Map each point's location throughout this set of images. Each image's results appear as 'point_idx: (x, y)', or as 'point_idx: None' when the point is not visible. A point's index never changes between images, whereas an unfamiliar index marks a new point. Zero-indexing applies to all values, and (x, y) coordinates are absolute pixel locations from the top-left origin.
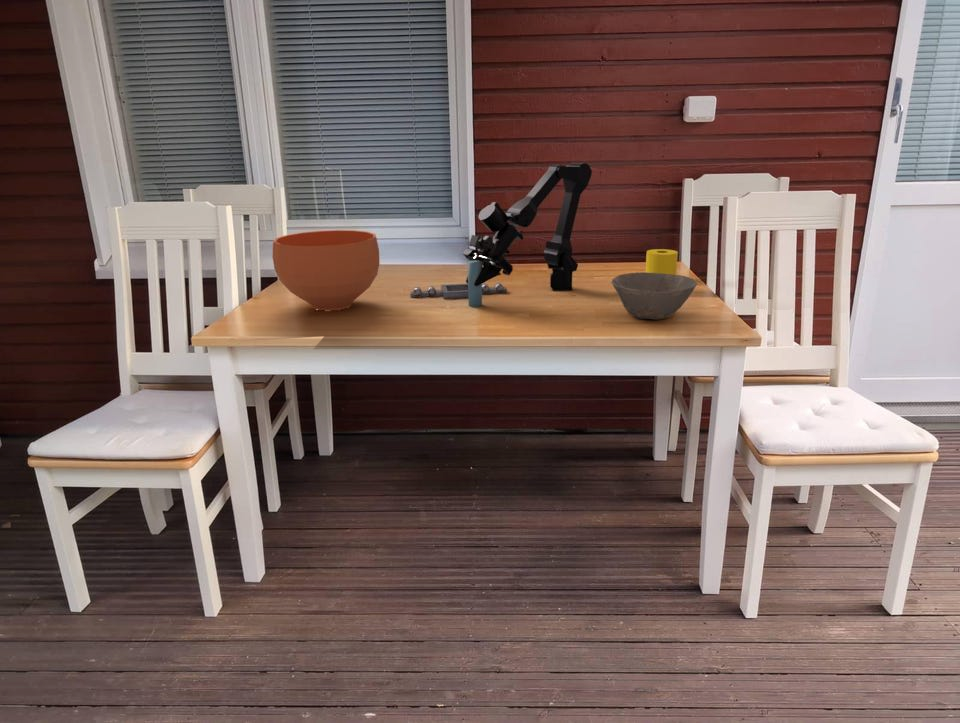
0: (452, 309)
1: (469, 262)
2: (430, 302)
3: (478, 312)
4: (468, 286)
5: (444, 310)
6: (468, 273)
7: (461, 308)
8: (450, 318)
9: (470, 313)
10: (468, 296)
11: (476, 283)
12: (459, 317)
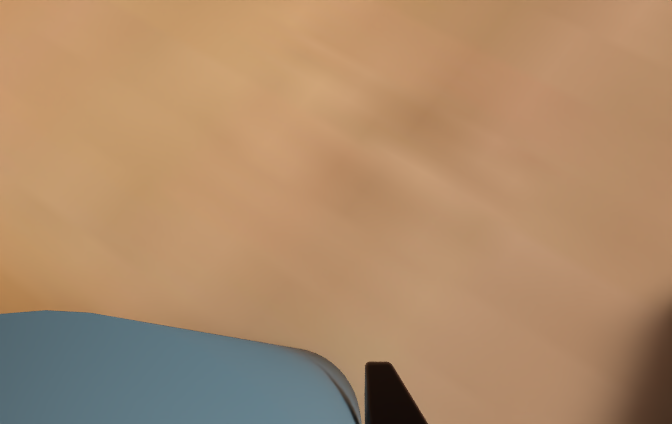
0: (304, 156)
1: (61, 368)
2: (657, 123)
3: (53, 289)
4: (288, 348)
5: (321, 85)
6: (225, 336)
7: (279, 240)
8: (81, 6)
9: (80, 211)
10: (317, 357)
11: None
12: (51, 74)
